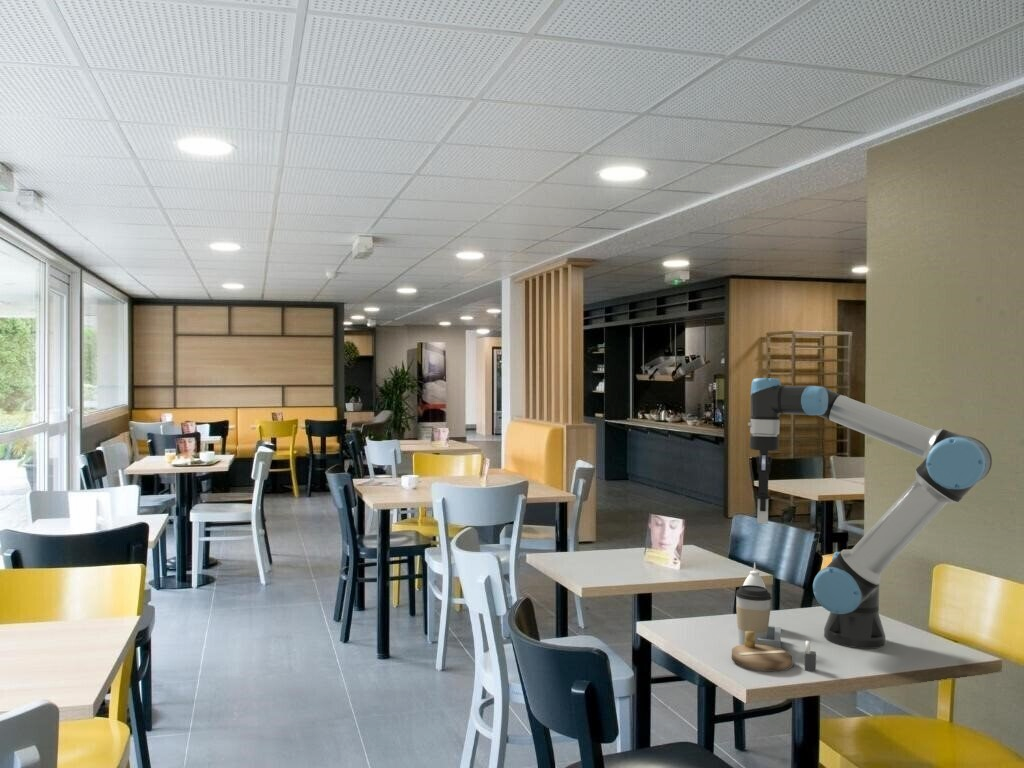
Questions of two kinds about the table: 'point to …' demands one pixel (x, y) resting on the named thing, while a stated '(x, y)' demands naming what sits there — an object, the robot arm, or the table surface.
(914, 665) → the table surface
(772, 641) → the pocket stop
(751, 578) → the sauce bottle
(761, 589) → the coffee cup
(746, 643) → the disc
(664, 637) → the table surface
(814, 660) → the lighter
